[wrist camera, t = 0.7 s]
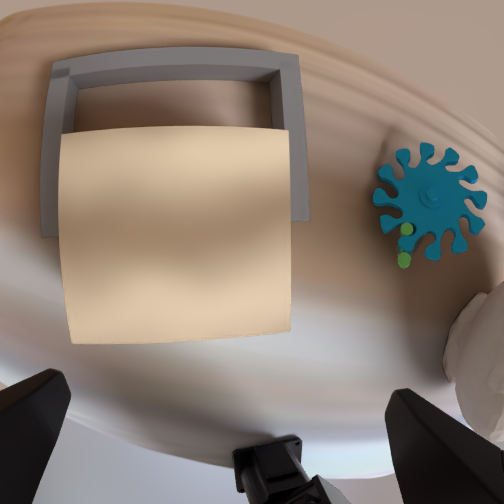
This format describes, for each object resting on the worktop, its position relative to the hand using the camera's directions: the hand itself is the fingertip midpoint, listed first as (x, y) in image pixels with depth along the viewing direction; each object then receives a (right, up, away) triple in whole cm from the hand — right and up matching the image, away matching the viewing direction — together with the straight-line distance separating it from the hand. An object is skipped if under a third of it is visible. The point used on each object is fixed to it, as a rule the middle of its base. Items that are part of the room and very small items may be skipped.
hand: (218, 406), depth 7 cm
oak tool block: (-4, +5, +14) cm, 15 cm away
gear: (+14, +8, +18) cm, 24 cm away
